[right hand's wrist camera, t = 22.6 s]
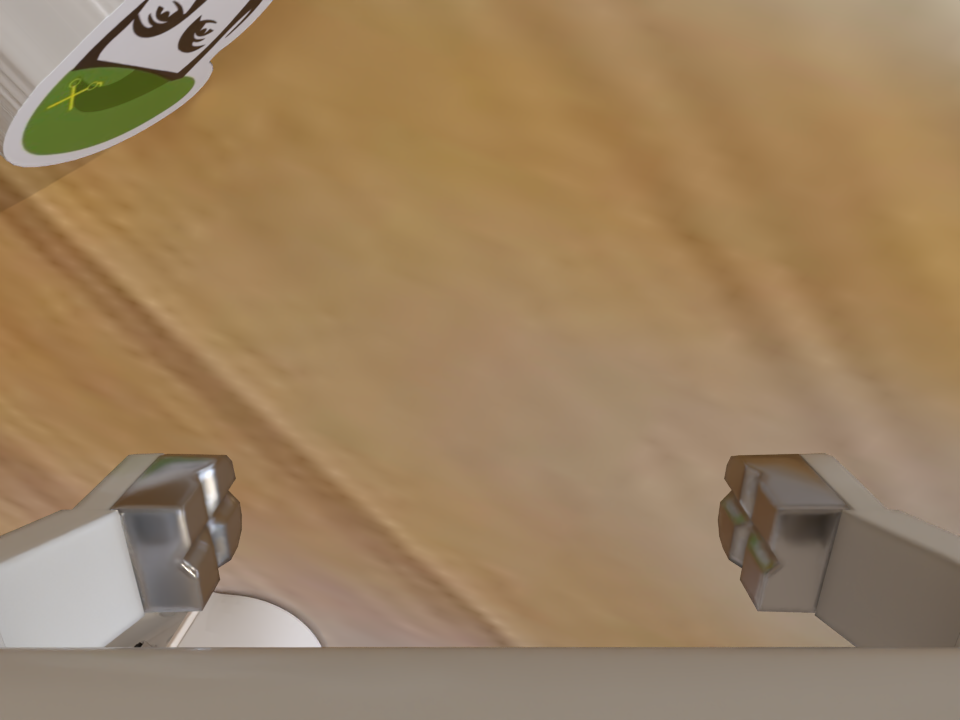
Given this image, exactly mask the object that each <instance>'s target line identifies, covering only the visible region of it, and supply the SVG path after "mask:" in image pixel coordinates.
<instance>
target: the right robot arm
mask: <svg viewBox="0 0 960 720" xmlns="http://www.w3.org/2000/svg"><path fill="white" fill-rule="evenodd" d="M235 479H236V478H235V473H234V468H233V464H232V461H231V459H230V458H229V457H228V456H227V455H203V454H163V453H151V454H133V455H128V456H127V457H126V458H125V459H124V460H123V461H122V462H121V463H120V464H119V465H118V466H117V467H116V468H115V469H114V470H113V471H111V472H110V473H109V474H108V475H107V476H106V477H105V478H104V479H103V480H102V481H101V482H100V483H99V484H98V485H97V486H96V487H95V488H94V489H93V490H92V491H91V492H90V493H89V494H88V495H87V496H86V497H85V498H84V499H83V500H81V501H80V502H79V503H78V504H77V505H76V506H75V507H74V508H73V509H72V510H60V511H58V512H55V513H53V514H51V515H48V516H46V517H44V518H41V519H39V520H37V521H34V522H32V523H30V524H27V525H25V526H23V527H20V528H18V529H16V530H13V531H11V532H9V533H6V534H4V535H2V536H0V720H960V536H958V535H956V534H954V533H951V532H949V531H947V530H944V529H942V528H940V527H937V526H935V525H933V524H930V523H928V522H926V521H923V520H921V519H919V518H916V517H914V516H912V515H909V514H907V513H905V512H902V511H900V510H888V509H887V508H886V507H885V506H884V505H883V504H882V503H881V502H880V501H879V500H878V499H877V498H875V497H874V496H873V495H872V494H871V493H870V492H869V491H868V490H867V489H866V488H865V487H864V486H863V485H862V484H861V483H860V482H859V481H858V480H857V479H856V478H855V477H854V476H853V475H852V474H851V473H850V472H849V471H848V470H847V469H846V468H845V467H843V466H842V465H841V464H840V463H839V462H838V461H837V460H836V459H835V458H834V457H833V456H831V455H828V454H826V453H814V454H778V455H738V456H731V457H730V460H729V462H728V464H727V467H726V472H725V478H724V479H725V481H726V482H727V484H728V485H729V487H730V488H731V490H732V491H731V492H730V493H729V494H728V495H727V496H726V497H725V498H724V499H723V500H722V501H721V502H720V508H719V515H718V526H719V537H720V540H721V543H722V547H723V549H724V551H725V553H726V555H727V557H728V559H729V560H730V561H732V562H733V563H735V564H736V565H738V566H739V567H741V568H742V571H741V577H740V581H741V582H742V584H743V586H744V588H745V589H746V591H747V593H748V595H749V597H750V598H751V600H752V602H753V604H754V605H755V607H756V609H757V611H771V612H807V613H815V616H817V617H818V618H819V619H820V620H822V621H823V622H824V623H826V624H827V625H828V626H830V627H831V628H832V629H833V630H835V631H836V632H837V633H839V634H840V635H841V636H843V637H844V638H845V639H846V640H848V641H849V642H850V643H852V644H853V645H854V646H856V647H321V645H320V643H319V641H318V640H317V638H316V637H315V635H314V634H313V633H312V632H311V630H310V629H309V628H308V627H307V626H306V625H305V624H304V623H303V622H301V621H300V620H299V619H298V618H296V617H295V616H294V615H292V614H291V613H289V612H287V611H286V610H284V609H282V608H280V607H278V606H276V605H273V604H271V603H268V602H266V601H263V600H259V599H255V598H251V597H246V596H240V595H229V594H220V593H215V592H213V591H214V589H215V588H216V586H217V584H218V582H219V581H220V577H219V571H218V568H219V567H221V566H222V565H224V564H225V563H227V562H228V561H230V560H231V559H232V557H233V555H234V553H235V551H236V549H237V547H238V543H239V539H240V535H241V530H242V513H241V507H240V502H239V501H238V500H237V499H236V498H235V497H234V496H233V495H232V494H231V493H230V492H229V491H228V490H229V488H230V487H231V485H232V484H233V482H234V481H235Z"/></svg>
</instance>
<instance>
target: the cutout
mask: <svg viewBox="0 0 960 720" xmlns="http://www.w3.org/2000/svg"><path fill="white" fill-rule="evenodd" d="M272 1H273V0H0V155H1V156H2V157H3V158H4V159H6V160H7V161H9V162H10V163H11V164H13V165H17V166H21V167H40V166H49V165H54V164H59V163H64V162H68V161H71V160H76V159H80V158H82V157H85V156H88V155H92V154H95V153H97V152H99V151H101V150H104V149H107V148H109V147H111V146H113V145H116V144H118V143H119V142H122V141H124V140H126V139H128V138H130V137H132V136H134V135H136V134H137V133H139V132H141V131H143V130H145V129H146V128H148V127H150V126H151V125H153V124H155V123H156V122H158V121H159V120H161V119H163V118H165V117H166V116H167V115H169V114H170V113H172V112H173V111H175V110H176V109H178V108H179V107H180V106H182V105H183V104H184V103H186V102H187V101H188V100H189V99H190V98H192V97H193V96H194V95H195V94H196V93H197V92H198V91H199V90H200V89H201V88H202V87H203V86H204V84H205V83H206V82H207V80H208V79H209V77H210V75H211V73H212V71H213V65H212V63H211V62H210V60H211V59H212V58H213V57H214V56H215V55H216V54H217V53H218V52H219V51H220V50H221V49H223V48H224V47H225V46H227V45H228V44H230V43H231V42H232V41H233V40H234V39H235V38H237V37H238V36H239V35H240V34H241V33H242V32H243V31H244V30H246V29H247V28H248V27H249V26H250V25H251V24H252V23H253V22H254V21H255V20H256V18H257V17H258V16H260V15H261V13H262V12H263V11H264V10H265V9H266V8H267V7H268V5H269V4H270V3H271V2H272Z"/></svg>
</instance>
